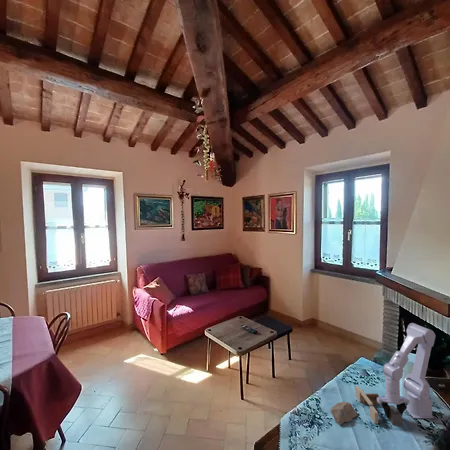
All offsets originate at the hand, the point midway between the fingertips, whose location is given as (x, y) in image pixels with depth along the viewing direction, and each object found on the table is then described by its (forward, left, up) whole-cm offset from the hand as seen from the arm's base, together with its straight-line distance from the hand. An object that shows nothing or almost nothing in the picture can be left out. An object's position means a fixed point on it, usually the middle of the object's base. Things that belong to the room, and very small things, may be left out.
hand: (393, 416), depth 121 cm
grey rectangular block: (0, 0, -2) cm, 2 cm away
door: (+5, -10, -1) cm, 11 cm away
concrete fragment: (+23, -2, -2) cm, 23 cm away
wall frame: (+10, -7, -1) cm, 12 cm away
